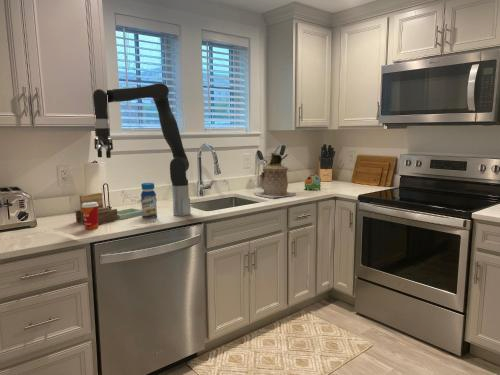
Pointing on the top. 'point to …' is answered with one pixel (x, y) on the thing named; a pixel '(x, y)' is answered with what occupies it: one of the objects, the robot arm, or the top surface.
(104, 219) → the rack
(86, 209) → the paper cup
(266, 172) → the utensil crock
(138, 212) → the tray
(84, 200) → the wood grain block
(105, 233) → the top surface
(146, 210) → the beverage bottle
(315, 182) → the turtle holder
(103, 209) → the offcut
